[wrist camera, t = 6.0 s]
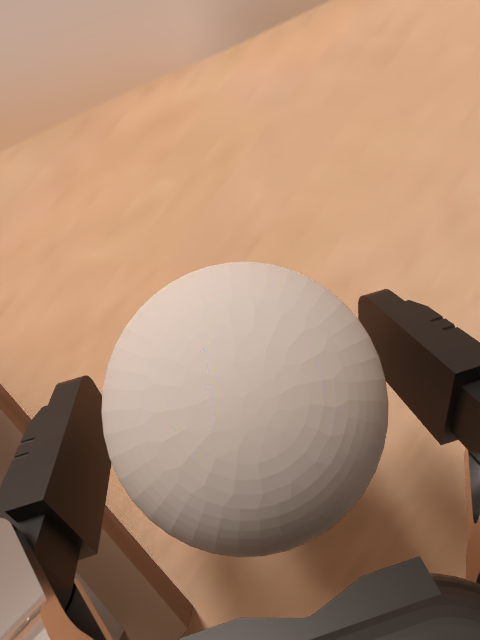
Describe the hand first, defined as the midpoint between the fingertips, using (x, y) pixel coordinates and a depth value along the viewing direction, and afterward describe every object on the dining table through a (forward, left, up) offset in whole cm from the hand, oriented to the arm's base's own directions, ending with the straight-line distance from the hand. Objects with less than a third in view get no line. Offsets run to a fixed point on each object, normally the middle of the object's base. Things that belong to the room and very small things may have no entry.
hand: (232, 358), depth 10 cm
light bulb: (+1, +1, -5) cm, 5 cm away
